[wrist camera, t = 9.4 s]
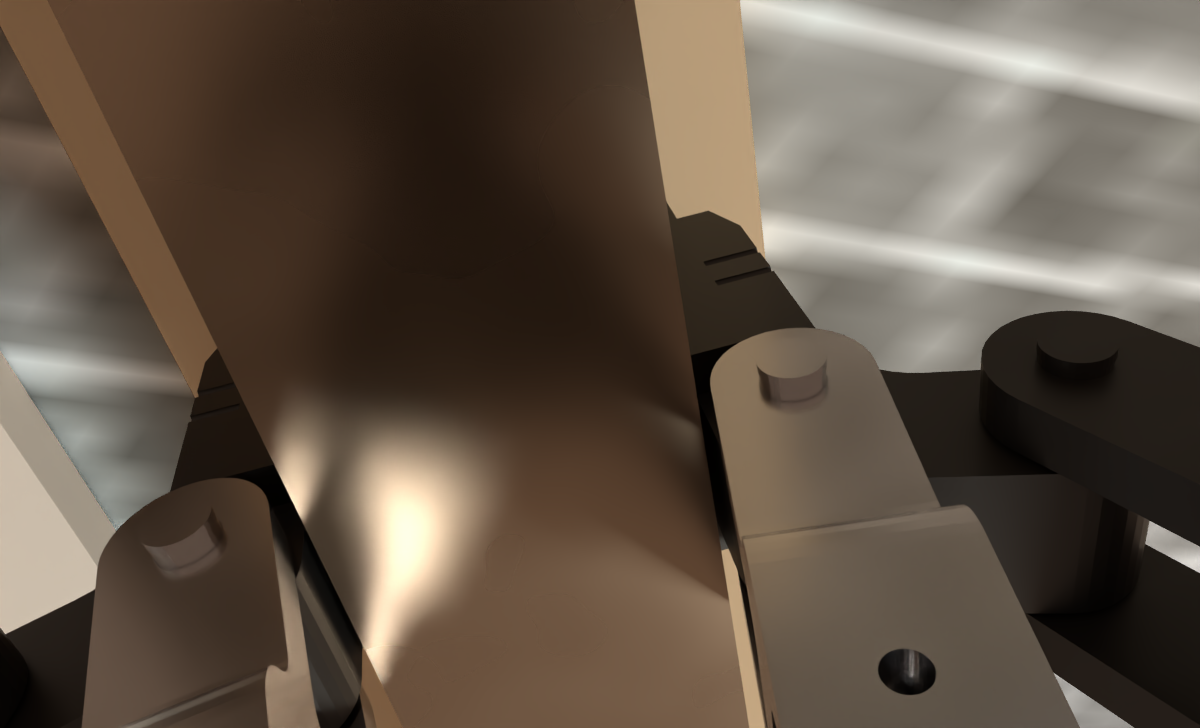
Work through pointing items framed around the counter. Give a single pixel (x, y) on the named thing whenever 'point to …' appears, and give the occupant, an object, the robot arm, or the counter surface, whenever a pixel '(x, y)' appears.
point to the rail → (448, 332)
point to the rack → (41, 515)
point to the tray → (684, 138)
